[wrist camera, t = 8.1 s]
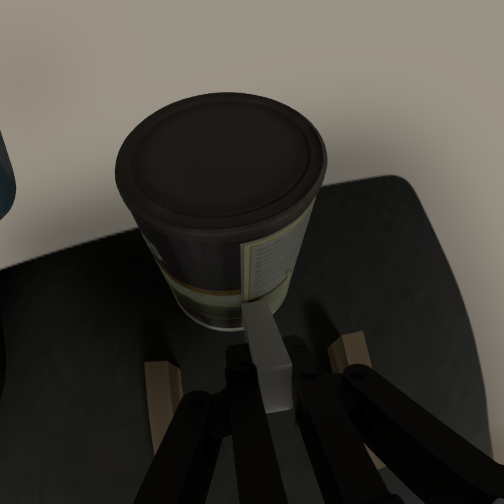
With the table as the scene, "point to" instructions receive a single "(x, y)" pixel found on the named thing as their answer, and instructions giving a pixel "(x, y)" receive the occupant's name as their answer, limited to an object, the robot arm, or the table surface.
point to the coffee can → (223, 198)
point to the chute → (170, 392)
